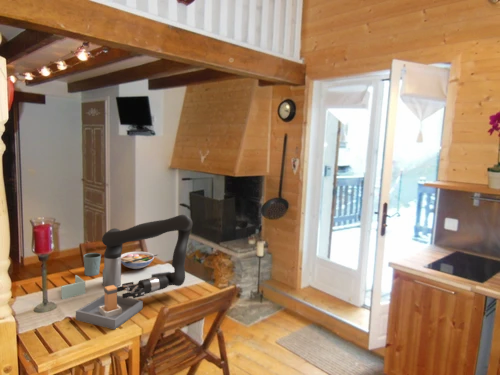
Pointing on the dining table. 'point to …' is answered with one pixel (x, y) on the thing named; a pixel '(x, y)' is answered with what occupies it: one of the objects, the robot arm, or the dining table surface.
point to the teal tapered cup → (92, 264)
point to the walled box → (109, 312)
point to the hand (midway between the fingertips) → (119, 293)
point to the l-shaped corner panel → (73, 288)
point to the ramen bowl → (136, 259)
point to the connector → (110, 298)
